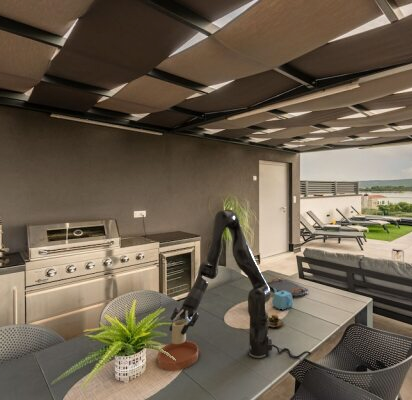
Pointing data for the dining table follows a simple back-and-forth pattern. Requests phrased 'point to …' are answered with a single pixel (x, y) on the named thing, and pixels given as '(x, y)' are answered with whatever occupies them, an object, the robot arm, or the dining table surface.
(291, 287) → the serving tray
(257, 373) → the dining table surface
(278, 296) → the teapot
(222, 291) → the dining table surface
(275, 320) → the burger
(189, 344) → the pan
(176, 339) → the jar
